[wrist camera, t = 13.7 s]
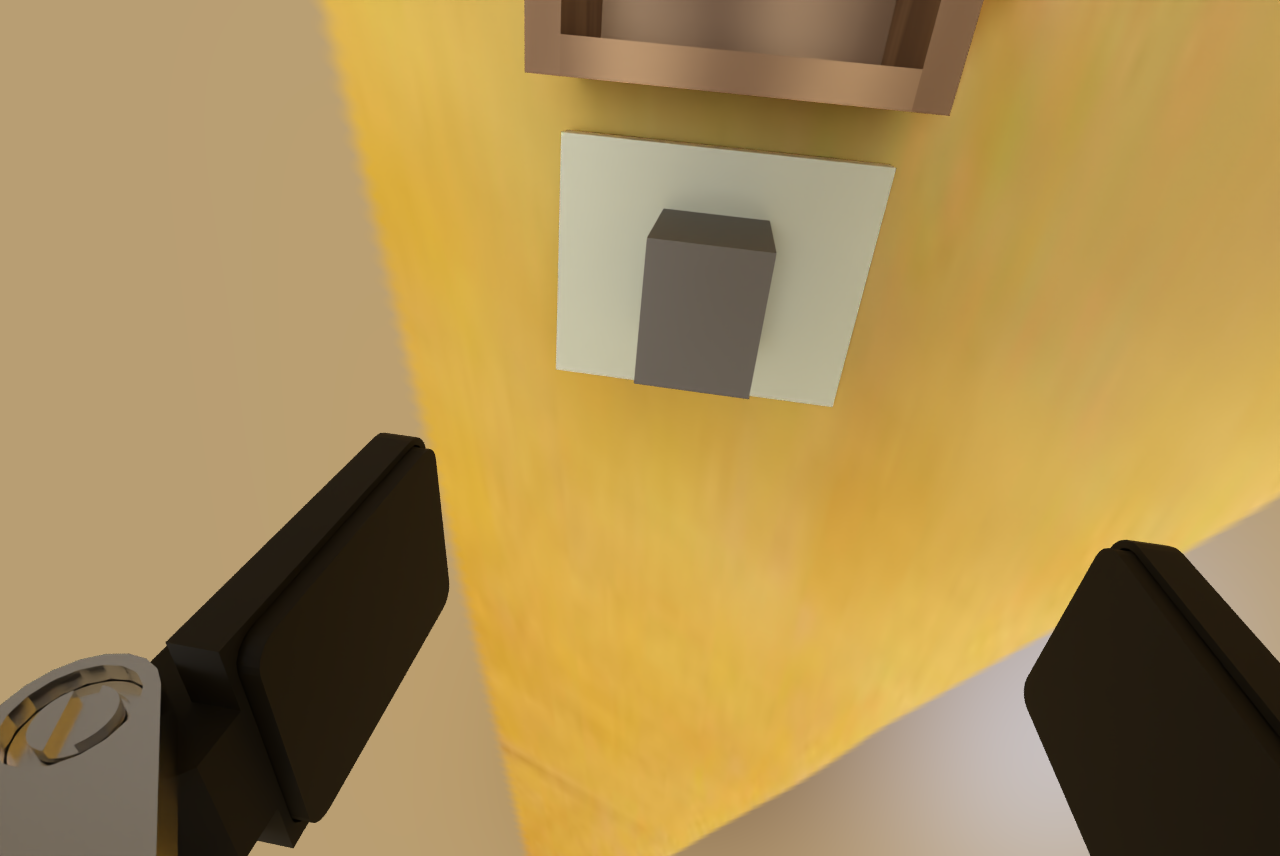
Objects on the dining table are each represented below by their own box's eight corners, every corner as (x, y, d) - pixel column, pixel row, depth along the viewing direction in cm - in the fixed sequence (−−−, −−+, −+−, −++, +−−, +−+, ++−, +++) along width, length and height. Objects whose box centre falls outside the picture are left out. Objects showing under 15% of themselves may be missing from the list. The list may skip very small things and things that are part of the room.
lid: (885, 162, 29) (934, 190, 22) (827, 388, 34) (850, 470, 27) (572, 128, 30) (520, 145, 23) (565, 353, 35) (522, 423, 28)
